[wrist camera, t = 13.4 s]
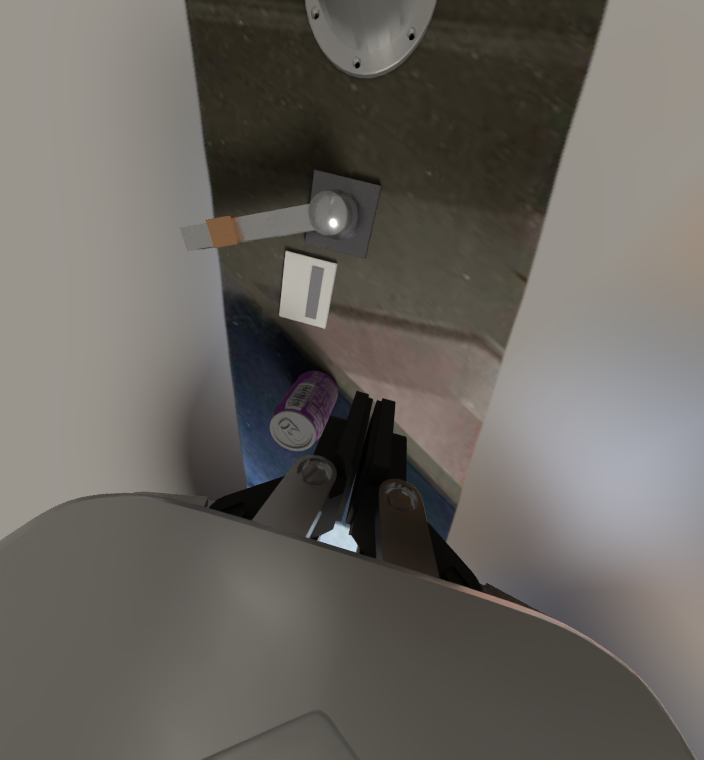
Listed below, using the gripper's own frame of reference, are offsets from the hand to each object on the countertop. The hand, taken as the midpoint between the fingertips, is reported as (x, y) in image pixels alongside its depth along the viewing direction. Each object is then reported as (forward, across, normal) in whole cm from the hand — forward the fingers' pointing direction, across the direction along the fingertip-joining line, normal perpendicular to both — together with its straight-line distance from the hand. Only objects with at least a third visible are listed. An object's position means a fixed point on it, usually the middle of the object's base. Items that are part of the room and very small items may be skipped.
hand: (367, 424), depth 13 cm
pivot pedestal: (+31, +9, -7) cm, 33 cm away
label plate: (+31, +12, +3) cm, 33 cm away
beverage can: (+31, +8, +18) cm, 37 cm away
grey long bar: (+27, +16, -4) cm, 32 cm away
